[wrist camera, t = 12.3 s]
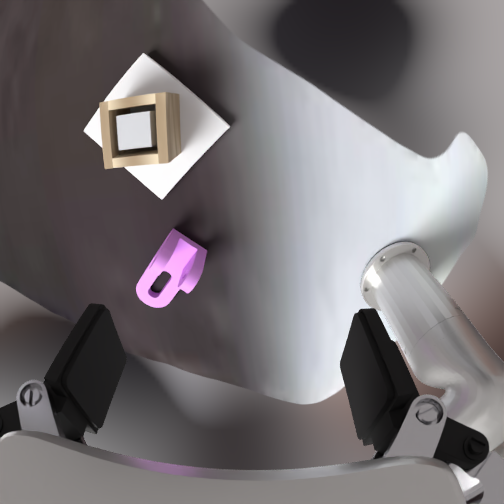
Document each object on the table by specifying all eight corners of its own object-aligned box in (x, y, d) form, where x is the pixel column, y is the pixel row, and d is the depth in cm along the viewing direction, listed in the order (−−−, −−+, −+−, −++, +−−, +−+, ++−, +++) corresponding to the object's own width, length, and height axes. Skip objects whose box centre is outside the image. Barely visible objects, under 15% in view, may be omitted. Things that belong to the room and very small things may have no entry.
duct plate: (230, 126, 31) (226, 131, 25) (164, 196, 35) (148, 216, 29) (147, 54, 26) (125, 45, 20) (89, 129, 30) (59, 137, 24)
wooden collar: (179, 94, 28) (165, 92, 23) (181, 152, 31) (168, 163, 26) (122, 101, 28) (99, 102, 22) (126, 157, 31) (104, 169, 26)
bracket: (173, 227, 38) (160, 253, 32) (207, 250, 39) (200, 278, 33) (133, 289, 42) (119, 318, 36) (163, 307, 44) (153, 338, 38)
